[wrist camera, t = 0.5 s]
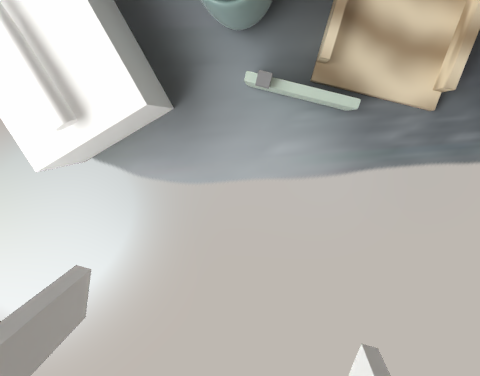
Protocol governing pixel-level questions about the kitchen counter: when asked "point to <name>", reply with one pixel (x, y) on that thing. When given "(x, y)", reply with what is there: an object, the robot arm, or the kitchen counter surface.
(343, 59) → the tray
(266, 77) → the gate
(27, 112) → the tissue box
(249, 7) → the cup
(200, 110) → the kitchen counter surface
